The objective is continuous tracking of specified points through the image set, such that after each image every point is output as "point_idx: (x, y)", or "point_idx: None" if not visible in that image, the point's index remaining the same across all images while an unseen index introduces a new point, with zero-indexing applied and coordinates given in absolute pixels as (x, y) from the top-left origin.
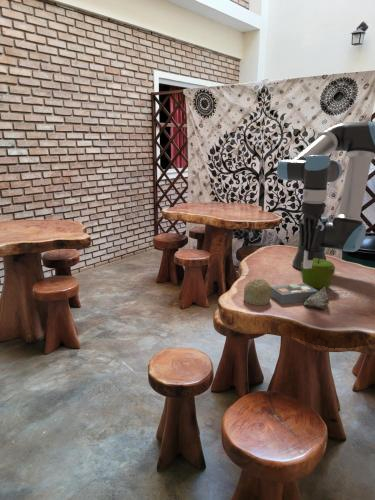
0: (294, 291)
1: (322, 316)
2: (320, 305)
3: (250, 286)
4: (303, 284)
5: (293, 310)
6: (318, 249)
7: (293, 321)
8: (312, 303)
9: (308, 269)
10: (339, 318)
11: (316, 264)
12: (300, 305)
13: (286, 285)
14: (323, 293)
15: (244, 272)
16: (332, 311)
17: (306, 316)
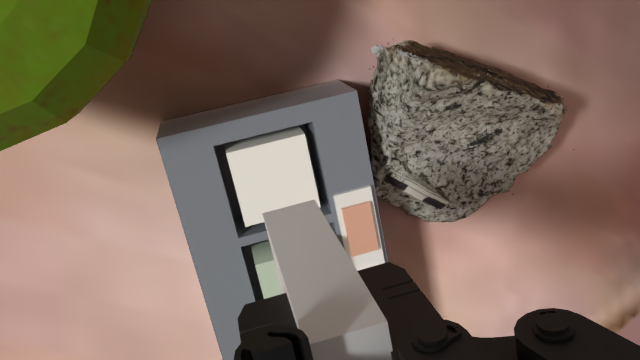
0: None
1: (589, 156)
2: (544, 153)
3: None
4: (186, 165)
5: (486, 299)
6: (583, 322)
7: None
8: (485, 186)
9: (63, 122)
10: (633, 61)
11: (29, 18)
12: (420, 236)
13: (214, 318)
14: (479, 102)
15: None
16: (536, 57)
17: (571, 249)
